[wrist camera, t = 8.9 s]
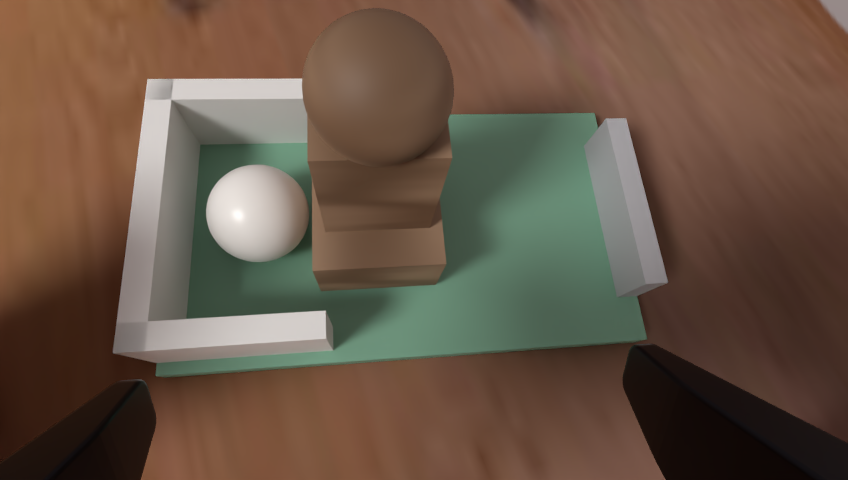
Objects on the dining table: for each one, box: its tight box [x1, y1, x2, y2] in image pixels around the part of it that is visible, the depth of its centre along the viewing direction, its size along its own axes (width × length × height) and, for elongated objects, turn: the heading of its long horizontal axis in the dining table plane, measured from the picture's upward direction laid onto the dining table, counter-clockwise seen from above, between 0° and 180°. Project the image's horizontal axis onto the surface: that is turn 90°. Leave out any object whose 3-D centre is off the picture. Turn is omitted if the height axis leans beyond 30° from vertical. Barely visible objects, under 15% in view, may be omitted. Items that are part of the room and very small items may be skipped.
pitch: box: [113, 79, 668, 378], centre depth 21 cm, size 21×12×4 cm, turn 94°
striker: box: [302, 8, 454, 291], centre depth 16 cm, size 5×6×12 cm
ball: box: [206, 165, 309, 262], centre depth 20 cm, size 4×4×4 cm
